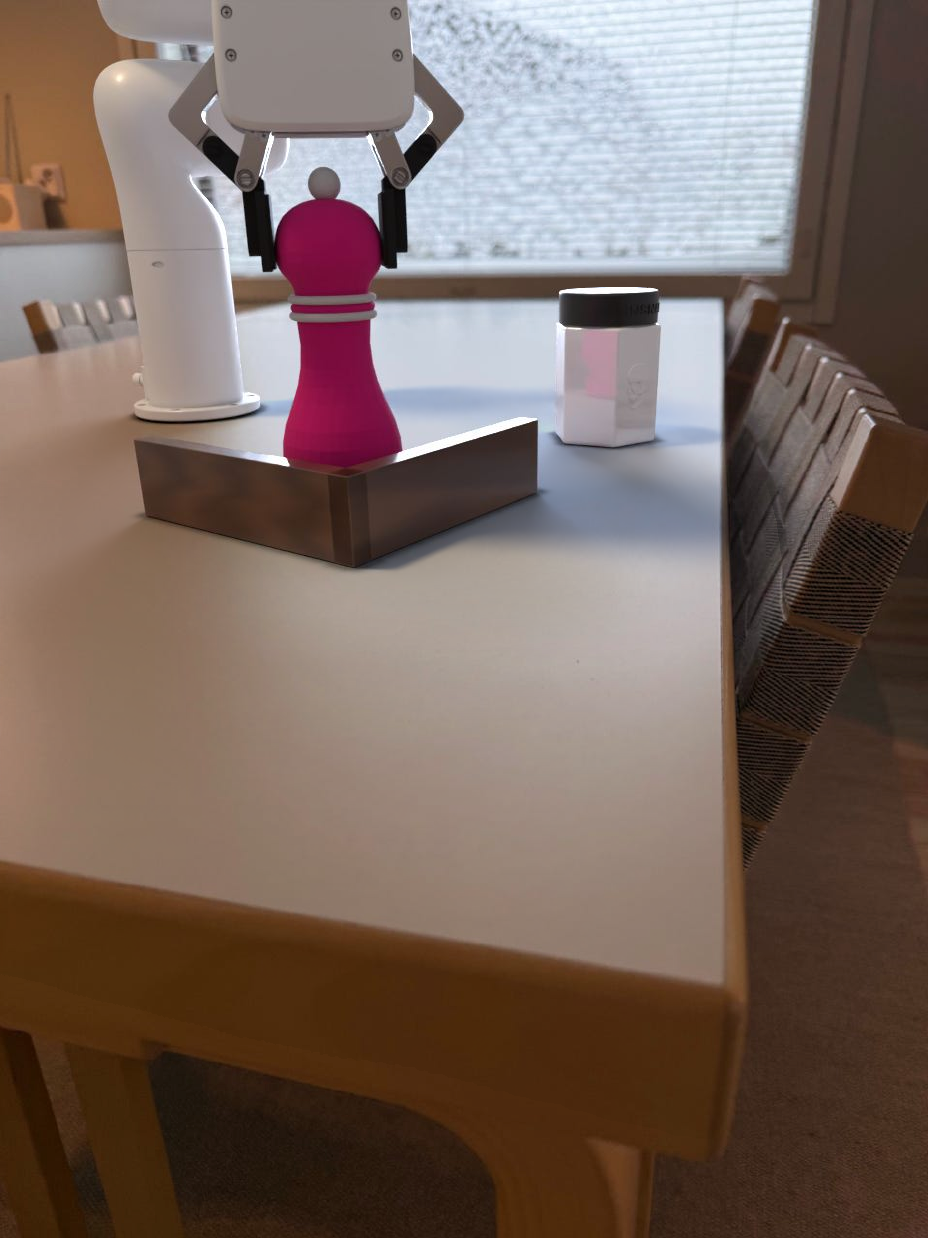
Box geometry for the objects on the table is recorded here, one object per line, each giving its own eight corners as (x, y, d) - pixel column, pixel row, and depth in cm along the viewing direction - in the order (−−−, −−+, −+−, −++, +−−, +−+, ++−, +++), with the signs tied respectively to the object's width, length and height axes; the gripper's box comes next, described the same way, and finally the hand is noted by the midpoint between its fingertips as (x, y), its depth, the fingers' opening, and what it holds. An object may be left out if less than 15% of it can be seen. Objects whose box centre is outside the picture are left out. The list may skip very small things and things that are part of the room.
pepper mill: (425, 512, 59) (413, 166, 51) (368, 545, 53) (344, 159, 45) (330, 501, 62) (304, 172, 54) (266, 531, 56) (227, 166, 48)
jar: (595, 452, 74) (600, 294, 70) (533, 436, 81) (535, 291, 76) (675, 437, 79) (685, 289, 74) (611, 423, 85) (616, 286, 81)
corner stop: (145, 515, 60) (132, 439, 58) (341, 460, 74) (337, 396, 72) (353, 567, 50) (347, 476, 48) (537, 492, 63) (538, 419, 62)
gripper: (465, -96, 49) (471, 263, 56) (132, -104, 47) (181, 271, 54) (489, -149, 43) (492, 267, 50) (101, -161, 40) (162, 276, 47)
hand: (329, 266), depth 52 cm, fingers closed on pepper mill, 6 cm apart
